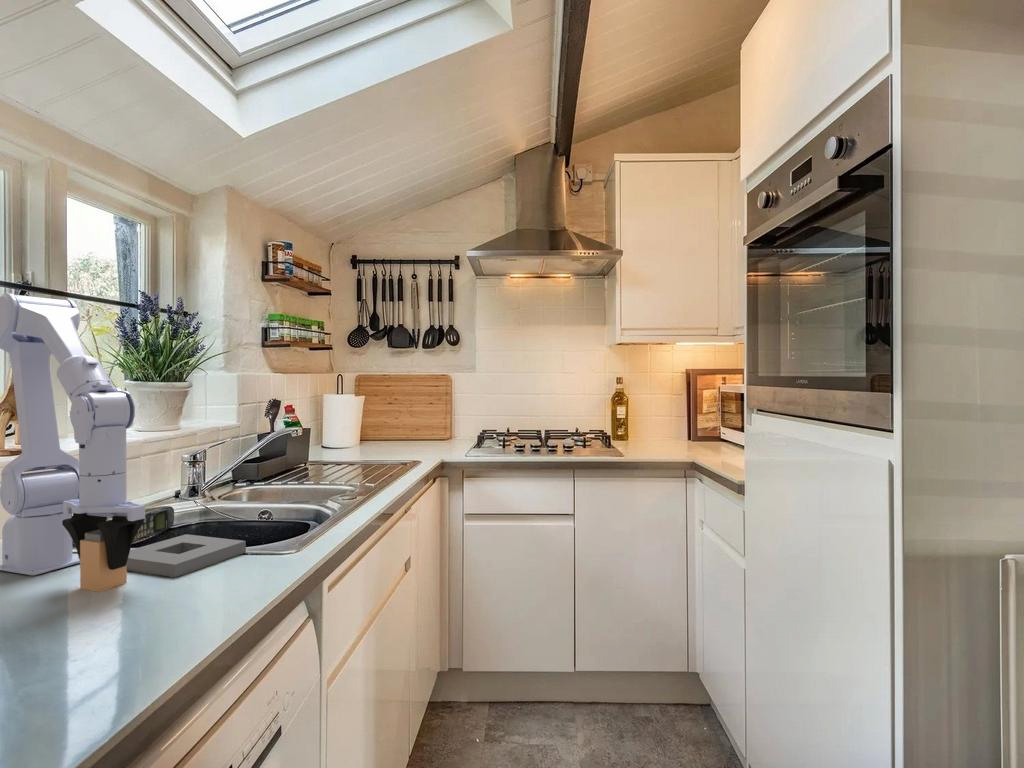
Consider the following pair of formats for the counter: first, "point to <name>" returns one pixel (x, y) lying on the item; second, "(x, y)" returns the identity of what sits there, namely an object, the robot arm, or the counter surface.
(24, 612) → the counter surface
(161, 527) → the mobile phone
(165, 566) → the socket plate
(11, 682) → the counter surface
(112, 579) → the plug
